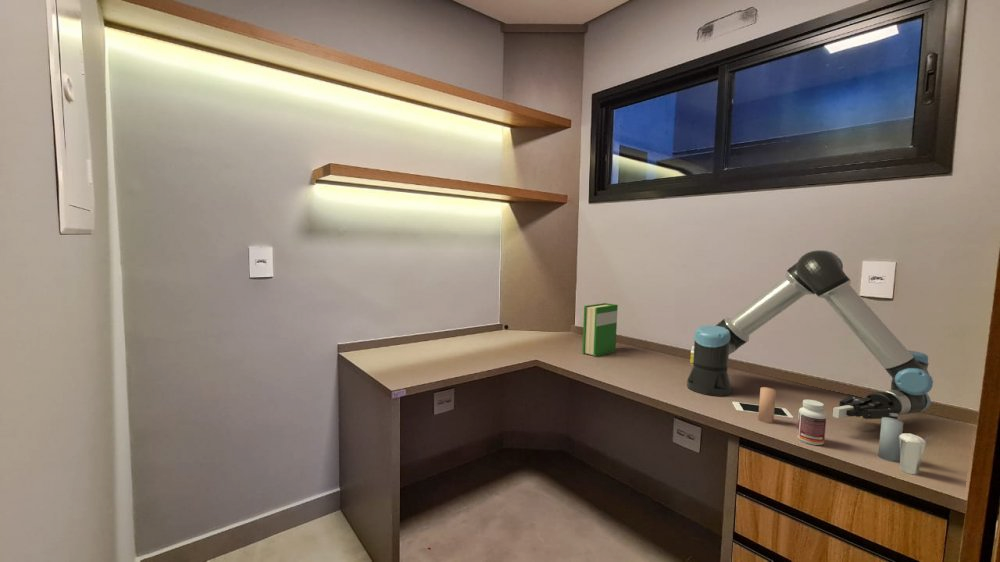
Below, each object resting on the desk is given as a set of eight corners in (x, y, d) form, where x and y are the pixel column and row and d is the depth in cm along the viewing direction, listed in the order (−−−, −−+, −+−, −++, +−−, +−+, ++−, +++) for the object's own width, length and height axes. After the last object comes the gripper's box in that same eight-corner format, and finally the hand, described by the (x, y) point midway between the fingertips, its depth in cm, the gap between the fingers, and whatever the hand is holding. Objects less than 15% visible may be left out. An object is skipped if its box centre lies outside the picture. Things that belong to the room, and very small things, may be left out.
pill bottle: (829, 446, 112) (833, 407, 111) (806, 445, 112) (810, 406, 111) (813, 435, 118) (816, 398, 117) (791, 435, 118) (794, 398, 117)
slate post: (878, 457, 106) (881, 420, 105) (878, 452, 109) (881, 415, 108) (899, 463, 103) (903, 425, 102) (899, 457, 106) (902, 420, 105)
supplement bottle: (691, 362, 190) (692, 345, 189) (702, 364, 187) (703, 346, 186) (688, 365, 186) (689, 347, 186) (699, 367, 184) (700, 348, 183)
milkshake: (930, 478, 97) (935, 438, 96) (901, 473, 98) (906, 433, 98) (919, 469, 101) (924, 430, 100) (891, 464, 103) (896, 426, 102)
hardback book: (594, 357, 196) (596, 307, 194) (582, 354, 202) (584, 305, 199) (615, 351, 208) (617, 304, 206) (603, 348, 213) (605, 303, 211)
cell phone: (731, 403, 142) (731, 401, 142) (785, 410, 137) (785, 408, 137) (736, 411, 135) (736, 409, 135) (793, 419, 130) (794, 417, 130)
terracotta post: (756, 420, 128) (759, 389, 127) (759, 416, 130) (762, 386, 130) (771, 424, 125) (774, 392, 124) (774, 420, 128) (777, 389, 127)
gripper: (912, 424, 120) (861, 435, 112) (861, 407, 132) (811, 416, 124) (915, 399, 119) (863, 409, 111) (863, 385, 131) (813, 392, 123)
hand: (836, 413), depth 117 cm, fingers closed
